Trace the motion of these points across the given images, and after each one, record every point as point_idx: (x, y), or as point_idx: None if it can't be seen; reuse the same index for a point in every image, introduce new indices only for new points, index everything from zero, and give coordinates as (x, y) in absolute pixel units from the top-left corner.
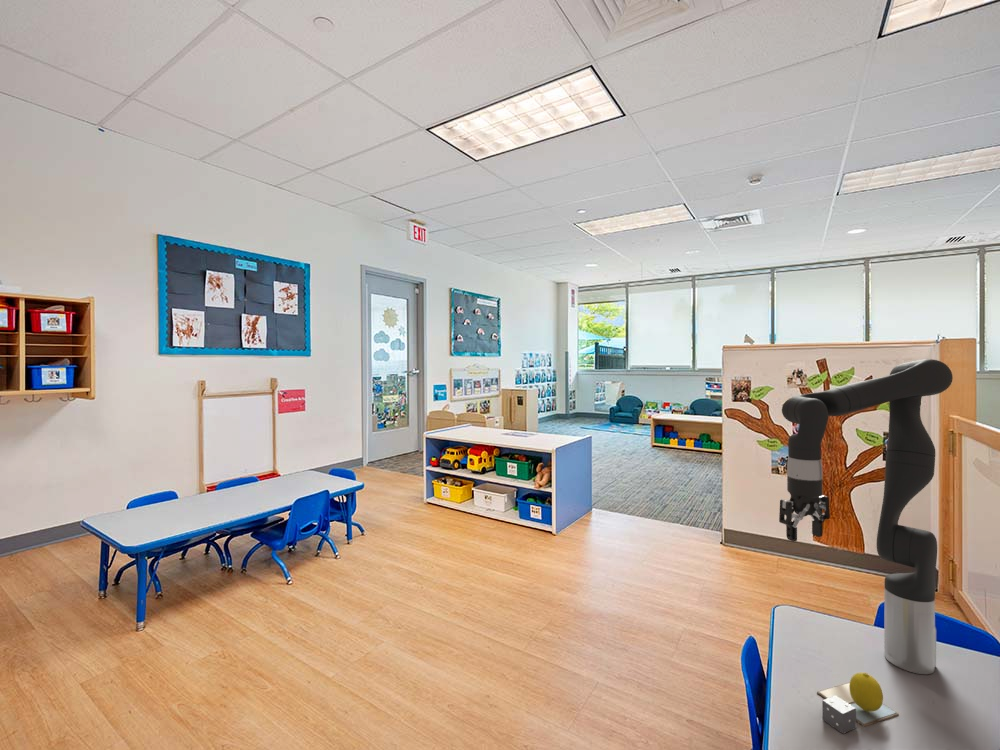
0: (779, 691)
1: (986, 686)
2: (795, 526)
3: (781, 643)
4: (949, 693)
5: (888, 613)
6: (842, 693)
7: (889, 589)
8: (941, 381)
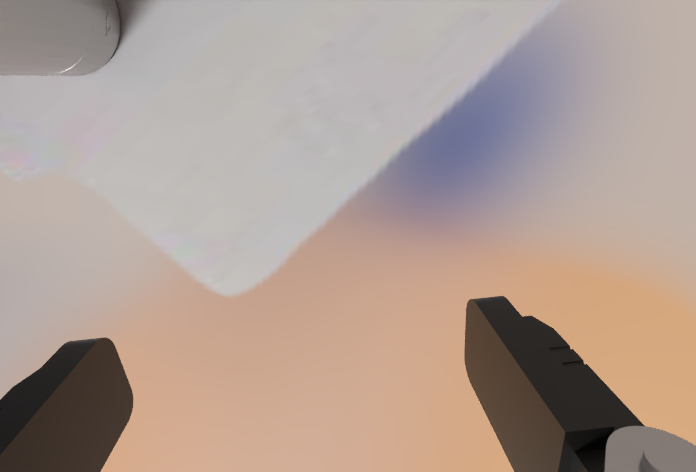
0: (535, 8)
1: None
2: (628, 442)
3: (356, 181)
4: None
5: (10, 12)
6: None
7: None
8: None
